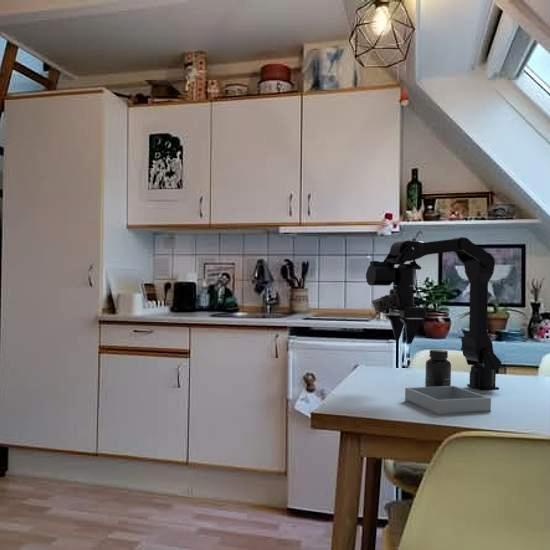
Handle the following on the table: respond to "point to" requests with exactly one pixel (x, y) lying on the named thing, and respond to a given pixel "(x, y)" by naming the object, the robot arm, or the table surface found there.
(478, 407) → the tub
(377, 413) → the table surface
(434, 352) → the supplement bottle
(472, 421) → the table surface
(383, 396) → the table surface
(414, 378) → the table surface
